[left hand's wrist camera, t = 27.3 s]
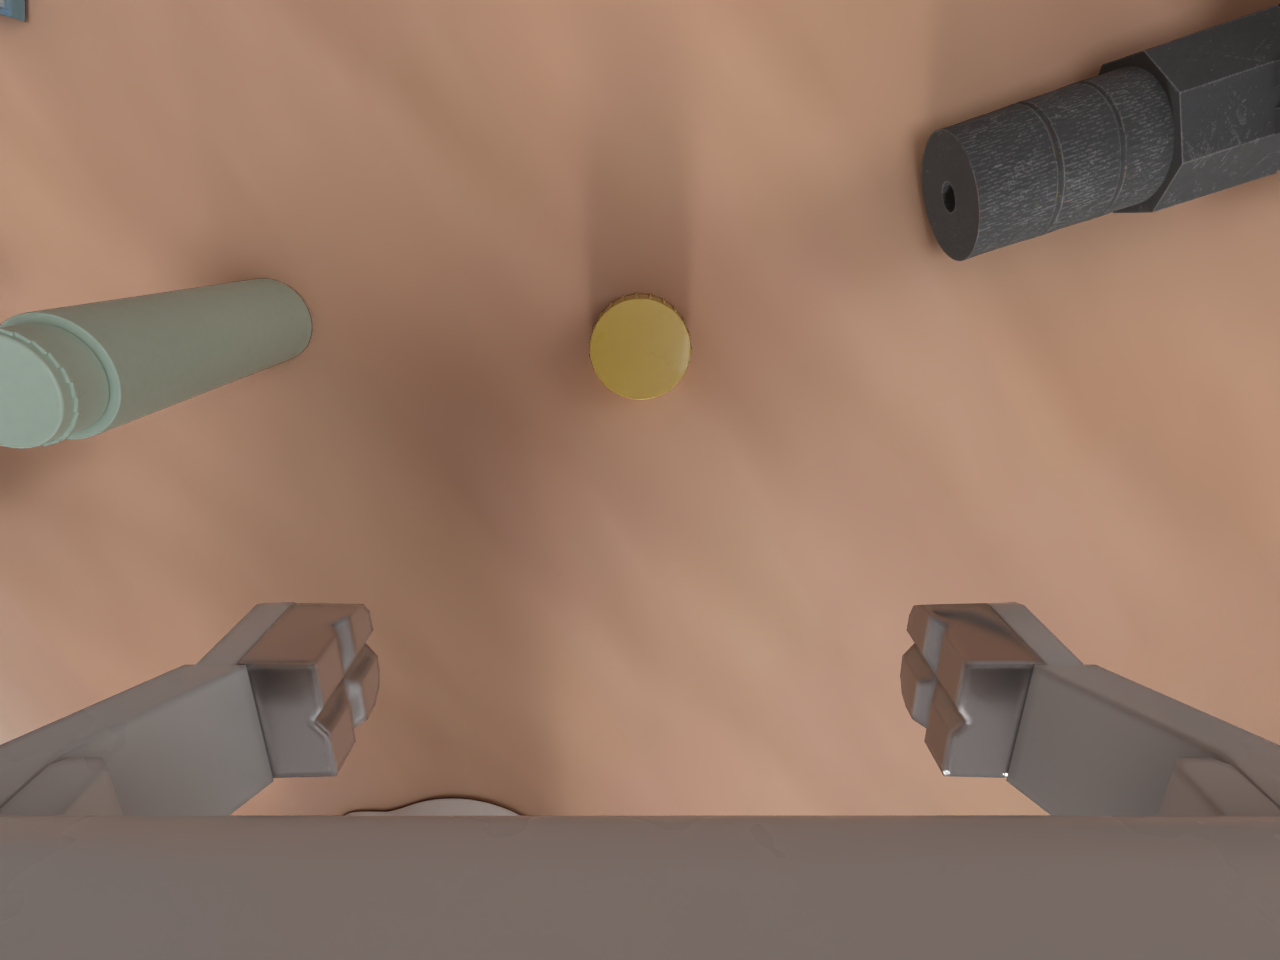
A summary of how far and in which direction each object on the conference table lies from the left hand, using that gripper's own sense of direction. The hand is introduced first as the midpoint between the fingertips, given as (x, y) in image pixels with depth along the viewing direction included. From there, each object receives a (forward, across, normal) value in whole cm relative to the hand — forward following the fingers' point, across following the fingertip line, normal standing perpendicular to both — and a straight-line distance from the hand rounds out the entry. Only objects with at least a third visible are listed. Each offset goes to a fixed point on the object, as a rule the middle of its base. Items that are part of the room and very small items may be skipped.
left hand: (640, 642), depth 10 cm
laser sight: (+27, -24, -10) cm, 38 cm away
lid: (+25, 0, 0) cm, 25 cm away
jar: (+27, +19, -1) cm, 33 cm away
